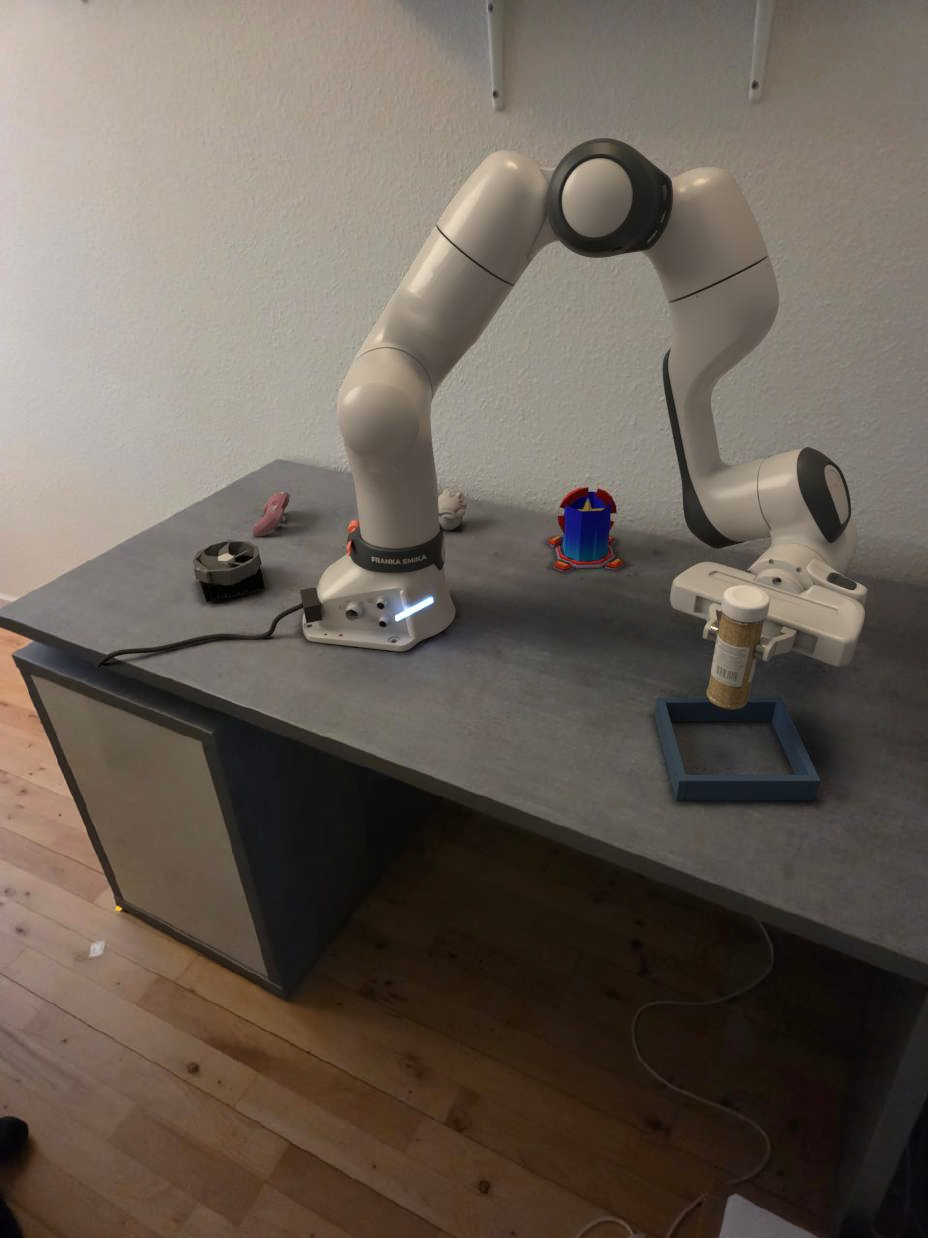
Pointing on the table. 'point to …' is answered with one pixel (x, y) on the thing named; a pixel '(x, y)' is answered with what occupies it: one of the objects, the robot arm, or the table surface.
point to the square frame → (736, 785)
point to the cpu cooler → (228, 570)
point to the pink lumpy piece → (272, 514)
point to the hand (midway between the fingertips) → (735, 644)
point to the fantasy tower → (586, 532)
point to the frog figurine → (451, 508)
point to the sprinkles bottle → (737, 645)
